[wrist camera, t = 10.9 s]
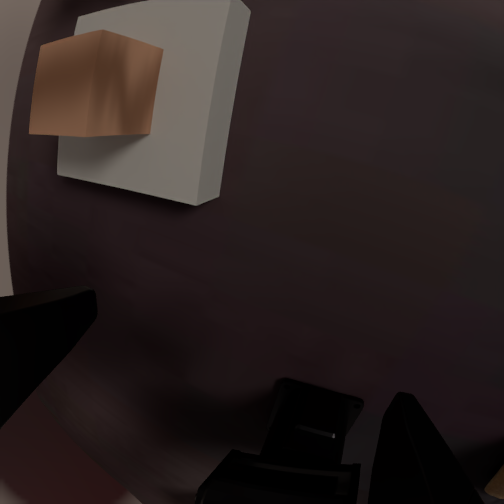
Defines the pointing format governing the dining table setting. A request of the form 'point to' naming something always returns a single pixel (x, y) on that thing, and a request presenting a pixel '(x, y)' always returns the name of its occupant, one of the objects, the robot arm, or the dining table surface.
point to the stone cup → (496, 484)
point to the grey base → (170, 101)
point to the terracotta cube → (95, 86)
